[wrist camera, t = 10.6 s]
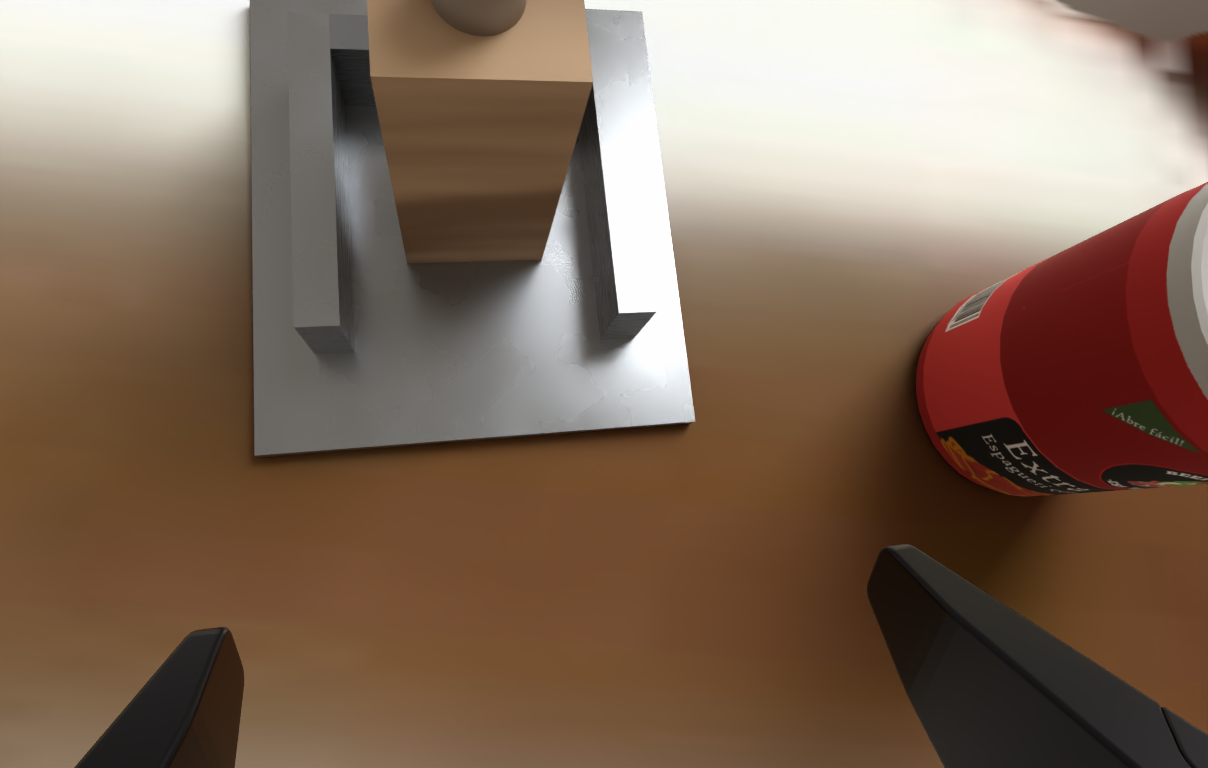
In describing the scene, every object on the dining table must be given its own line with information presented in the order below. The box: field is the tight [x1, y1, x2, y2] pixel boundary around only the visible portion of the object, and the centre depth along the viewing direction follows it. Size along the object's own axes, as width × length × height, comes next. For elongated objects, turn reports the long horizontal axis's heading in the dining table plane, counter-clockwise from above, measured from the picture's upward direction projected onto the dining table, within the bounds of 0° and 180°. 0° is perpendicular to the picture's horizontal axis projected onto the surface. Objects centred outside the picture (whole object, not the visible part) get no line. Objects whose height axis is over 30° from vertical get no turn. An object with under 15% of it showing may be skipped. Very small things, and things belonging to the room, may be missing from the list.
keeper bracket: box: [250, 0, 695, 457], centre depth 23 cm, size 16×14×4 cm
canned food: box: [916, 182, 1208, 497], centre depth 22 cm, size 8×8×11 cm
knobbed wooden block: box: [367, 0, 593, 263], centre depth 19 cm, size 4×4×12 cm
